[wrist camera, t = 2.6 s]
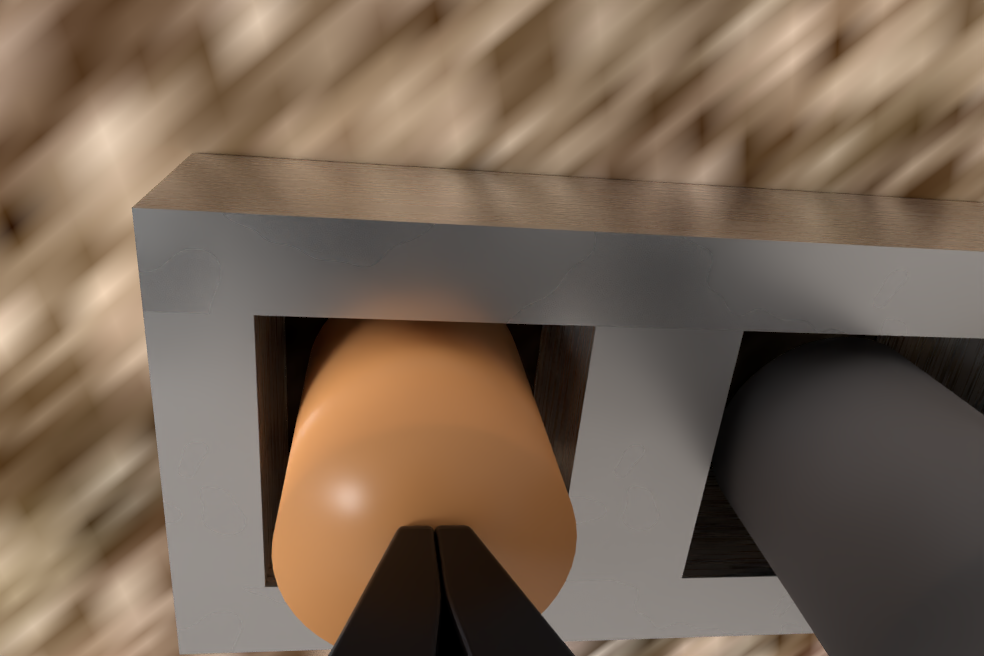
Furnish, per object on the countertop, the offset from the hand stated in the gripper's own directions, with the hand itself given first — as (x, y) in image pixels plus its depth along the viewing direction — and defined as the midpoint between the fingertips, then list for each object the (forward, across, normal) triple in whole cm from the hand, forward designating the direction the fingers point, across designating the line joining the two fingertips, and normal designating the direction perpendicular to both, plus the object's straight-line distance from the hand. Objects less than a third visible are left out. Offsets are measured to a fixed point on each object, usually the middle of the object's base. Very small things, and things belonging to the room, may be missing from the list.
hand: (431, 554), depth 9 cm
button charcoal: (+3, -7, 0) cm, 7 cm away
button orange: (+4, 0, 0) cm, 4 cm away
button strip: (+5, -6, 0) cm, 8 cm away
